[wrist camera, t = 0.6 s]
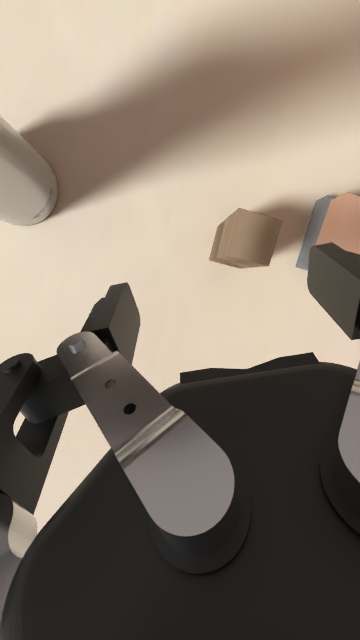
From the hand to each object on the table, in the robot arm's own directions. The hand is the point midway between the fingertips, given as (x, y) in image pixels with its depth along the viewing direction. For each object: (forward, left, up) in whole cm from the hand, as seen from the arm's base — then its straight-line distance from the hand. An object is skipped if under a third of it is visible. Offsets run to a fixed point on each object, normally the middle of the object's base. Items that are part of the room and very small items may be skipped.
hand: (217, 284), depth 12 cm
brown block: (+3, +7, -24) cm, 26 cm away
